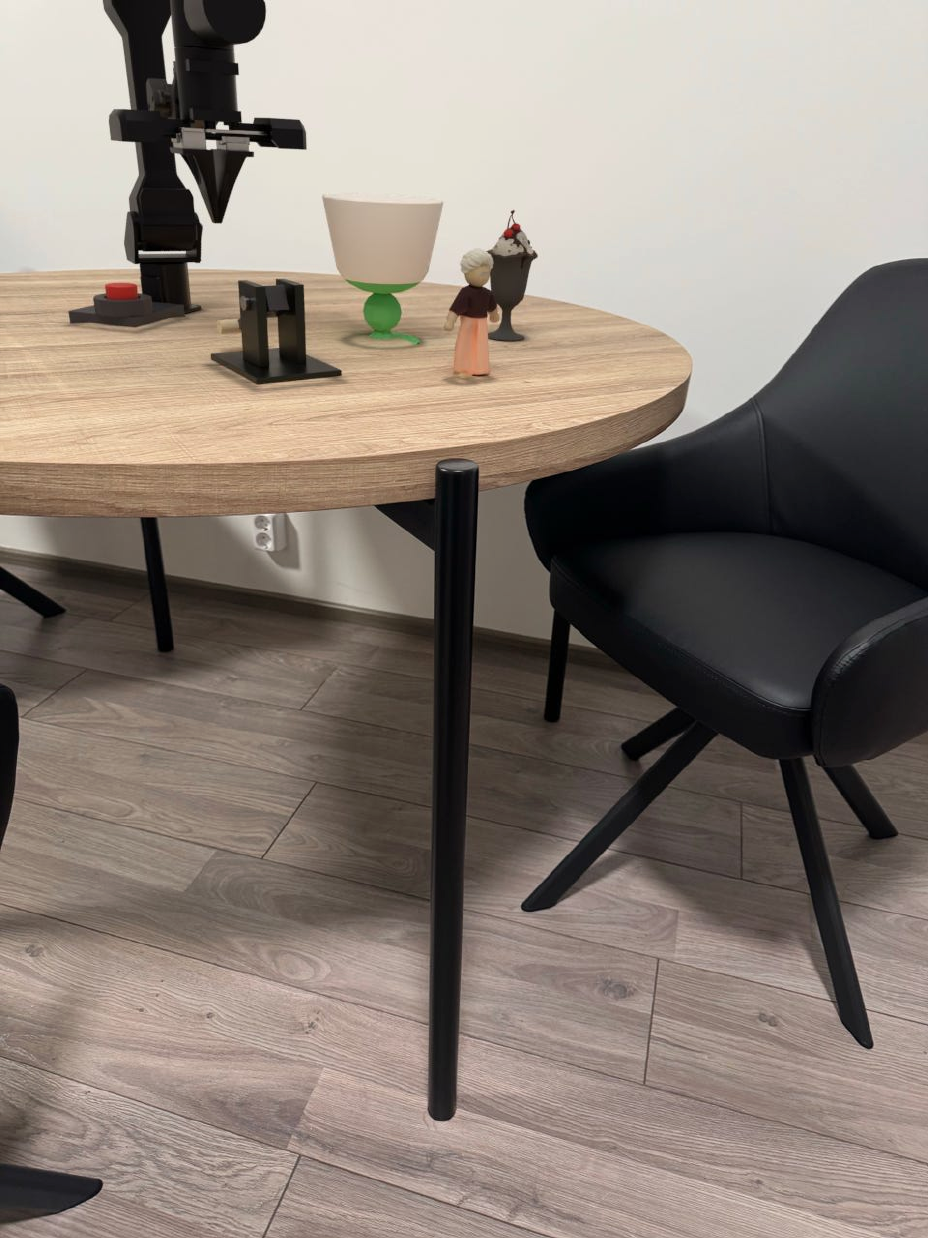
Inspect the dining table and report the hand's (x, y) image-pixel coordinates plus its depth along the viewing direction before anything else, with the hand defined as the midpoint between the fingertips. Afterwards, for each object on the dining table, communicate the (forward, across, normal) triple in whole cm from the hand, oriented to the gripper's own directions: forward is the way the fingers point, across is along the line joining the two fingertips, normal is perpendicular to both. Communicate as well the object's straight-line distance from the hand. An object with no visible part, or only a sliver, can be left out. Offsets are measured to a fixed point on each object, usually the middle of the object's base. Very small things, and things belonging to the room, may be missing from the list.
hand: (217, 222), depth 96 cm
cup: (+13, -19, +1) cm, 23 cm away
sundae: (+13, -35, +4) cm, 38 cm away
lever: (+9, -1, +10) cm, 13 cm away
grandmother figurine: (+13, -19, +22) cm, 32 cm away
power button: (+10, +7, -16) cm, 20 cm away
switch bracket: (+13, -1, +13) cm, 18 cm away
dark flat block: (+13, +6, -19) cm, 24 cm away
